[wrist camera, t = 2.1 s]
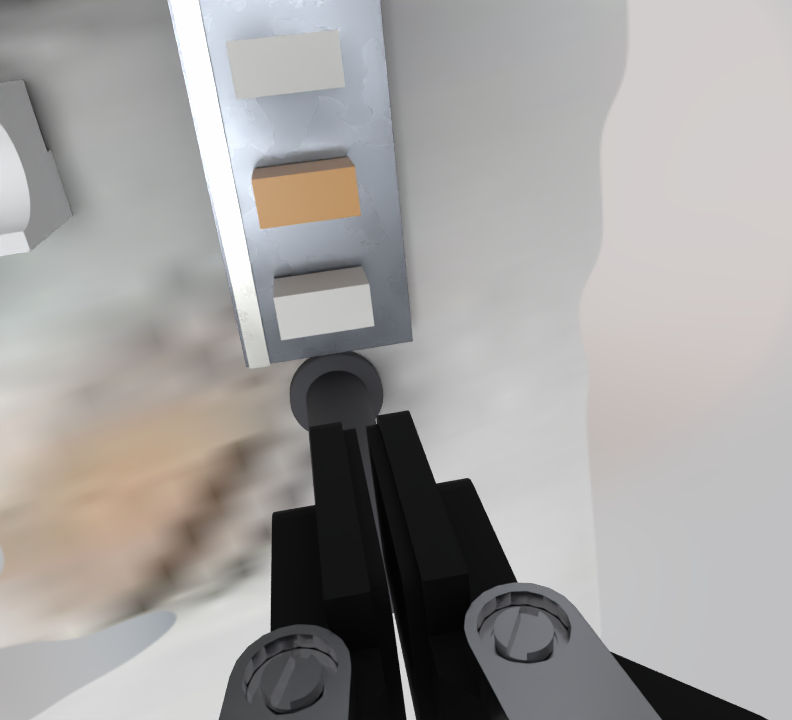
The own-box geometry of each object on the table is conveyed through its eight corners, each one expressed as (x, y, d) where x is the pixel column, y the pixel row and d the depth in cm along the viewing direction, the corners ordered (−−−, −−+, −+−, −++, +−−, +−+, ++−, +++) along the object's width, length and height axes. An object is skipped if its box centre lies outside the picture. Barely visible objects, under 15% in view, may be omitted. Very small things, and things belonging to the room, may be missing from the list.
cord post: (282, 357, 43) (287, 541, 27) (375, 343, 44) (434, 515, 28) (297, 437, 46) (310, 649, 30) (385, 423, 47) (444, 622, 30)
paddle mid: (253, 169, 35) (251, 179, 33) (348, 156, 36) (355, 166, 33) (261, 214, 36) (260, 229, 34) (354, 202, 37) (360, 215, 34)
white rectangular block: (273, 278, 38) (273, 297, 35) (362, 266, 38) (369, 283, 36) (280, 318, 39) (281, 340, 36) (367, 305, 40) (374, 326, 37)
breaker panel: (171, -14, 34) (162, -19, 31) (369, -33, 35) (377, -40, 32) (248, 348, 43) (246, 369, 40) (404, 324, 44) (413, 343, 41)
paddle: (229, 42, 33) (225, 41, 30) (332, 30, 33) (338, 29, 30) (239, 95, 34) (236, 99, 31) (339, 83, 34) (345, 86, 32)
